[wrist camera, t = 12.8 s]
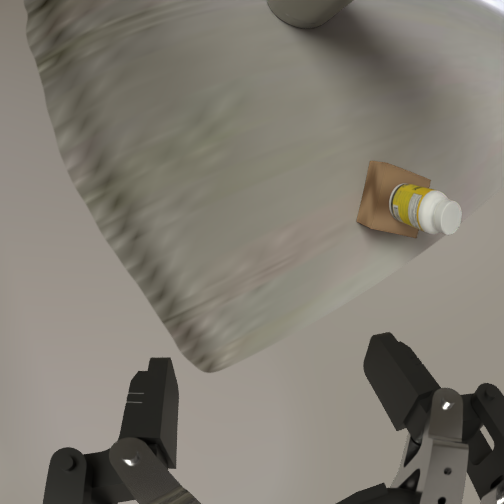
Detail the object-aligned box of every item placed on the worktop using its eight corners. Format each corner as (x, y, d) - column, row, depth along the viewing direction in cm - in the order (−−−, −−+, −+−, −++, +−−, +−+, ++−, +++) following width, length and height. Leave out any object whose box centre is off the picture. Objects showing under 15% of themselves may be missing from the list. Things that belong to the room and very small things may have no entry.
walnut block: (370, 160, 38) (386, 162, 34) (414, 176, 40) (430, 180, 36) (356, 221, 40) (371, 228, 37) (400, 230, 42) (416, 238, 39)
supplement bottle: (420, 190, 36) (470, 204, 27) (408, 225, 38) (456, 247, 29) (394, 176, 35) (446, 188, 26) (382, 214, 36) (431, 235, 27)
